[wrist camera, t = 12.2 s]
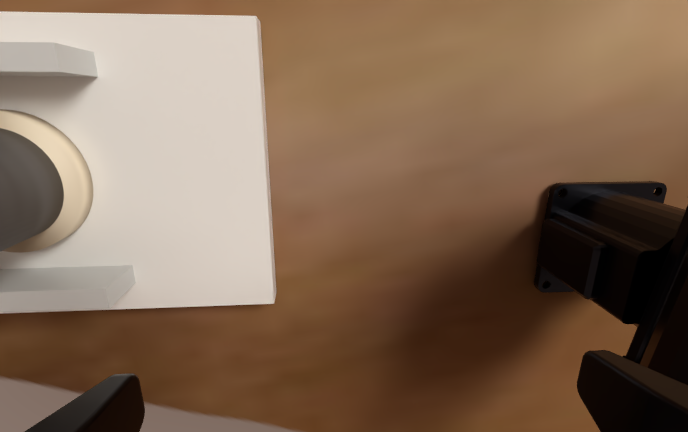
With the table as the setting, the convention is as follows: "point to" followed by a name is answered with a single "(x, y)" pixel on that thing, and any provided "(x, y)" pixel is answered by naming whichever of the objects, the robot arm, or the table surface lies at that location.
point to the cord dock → (147, 159)
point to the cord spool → (39, 184)
